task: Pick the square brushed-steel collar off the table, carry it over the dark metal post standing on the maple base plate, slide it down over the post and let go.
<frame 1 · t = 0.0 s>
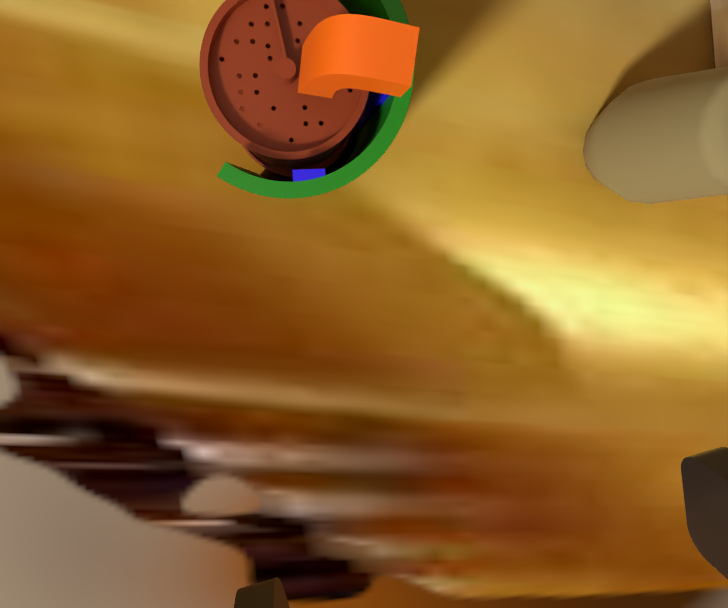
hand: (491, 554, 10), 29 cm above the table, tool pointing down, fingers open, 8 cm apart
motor: (303, 119, 36), on the table
squeeze bottle: (617, 147, 39), on the table
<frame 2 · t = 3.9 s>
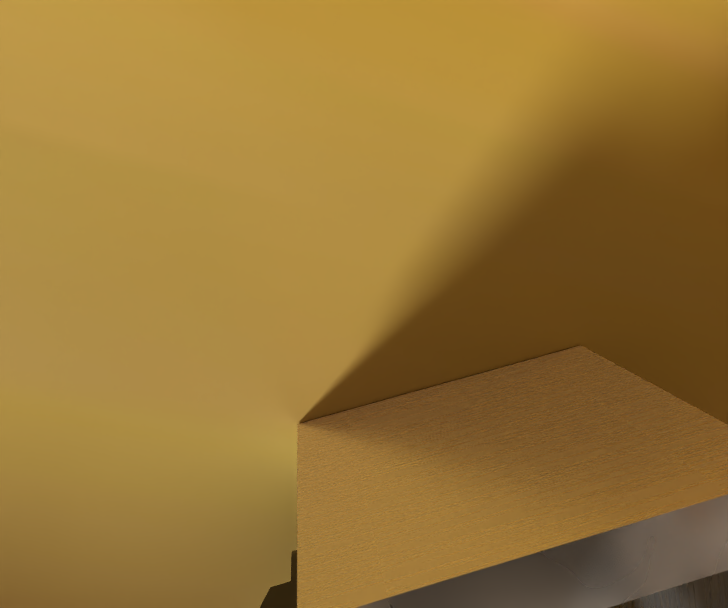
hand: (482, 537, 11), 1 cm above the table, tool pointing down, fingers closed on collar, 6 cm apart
collar: (469, 510, 11), on the table, touching gripper
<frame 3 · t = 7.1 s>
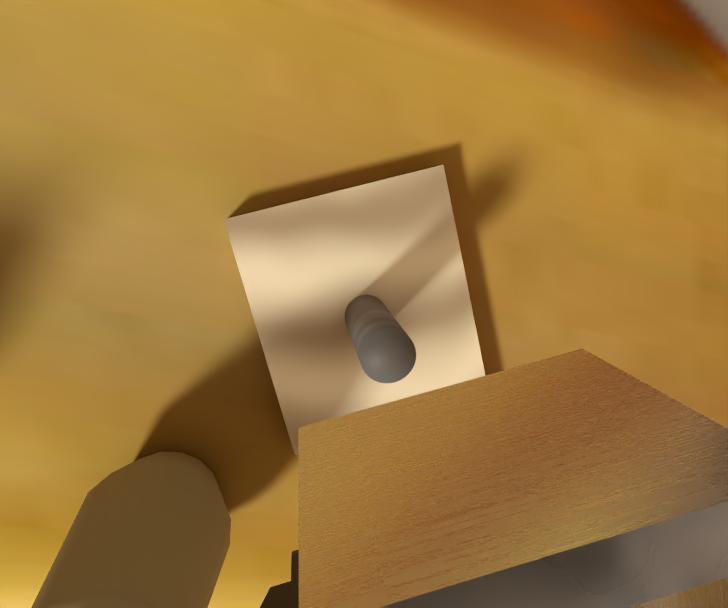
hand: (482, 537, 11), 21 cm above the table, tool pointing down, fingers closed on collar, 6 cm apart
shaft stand: (362, 310, 31), on the table
collar: (470, 514, 11), point 20 cm above the table, touching gripper
squeeze bottle: (171, 492, 32), on the table
when the fingers open (4 cm above the table, at t = 10.4 s): collar drops 2 cm, resting on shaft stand.
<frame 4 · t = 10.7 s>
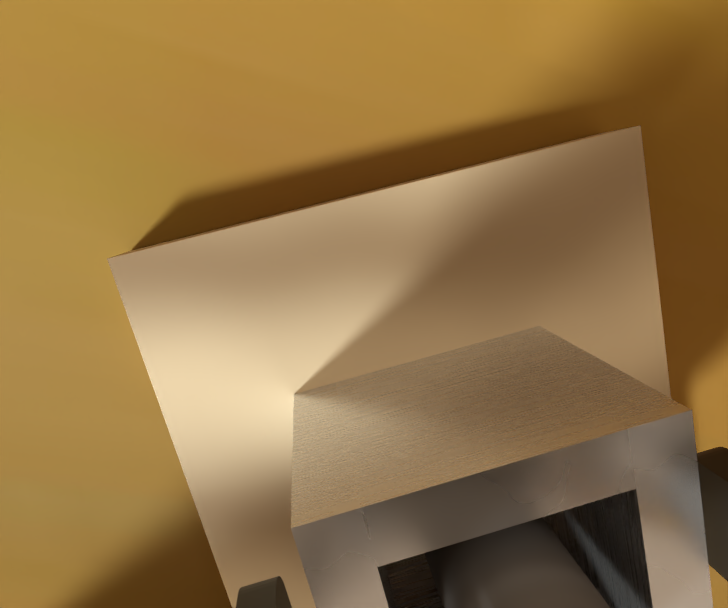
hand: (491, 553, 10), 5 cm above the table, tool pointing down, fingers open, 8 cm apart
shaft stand: (432, 443, 14), on the table
collar: (444, 471, 13), point 1 cm above the table, touching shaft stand
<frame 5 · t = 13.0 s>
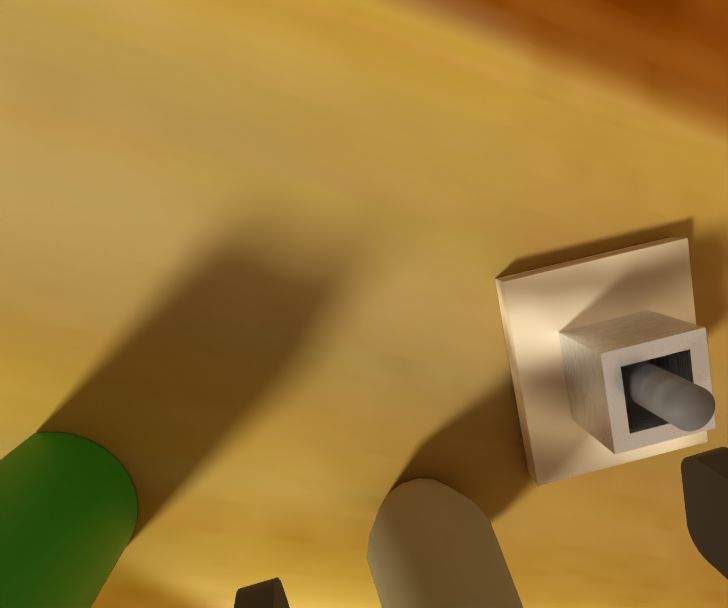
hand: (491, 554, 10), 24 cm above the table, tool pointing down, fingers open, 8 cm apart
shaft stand: (598, 359, 35), on the table
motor: (67, 504, 34), on the table
collar: (609, 365, 34), point 1 cm above the table, touching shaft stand
squeeze bottle: (419, 514, 36), on the table
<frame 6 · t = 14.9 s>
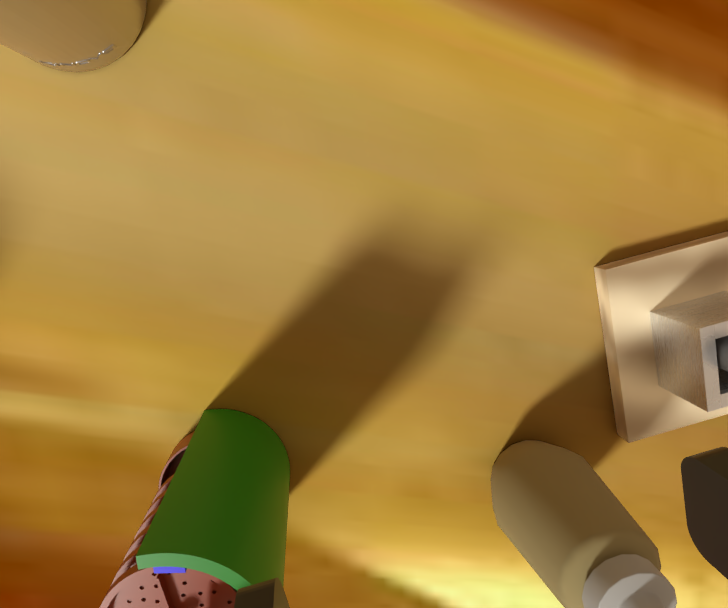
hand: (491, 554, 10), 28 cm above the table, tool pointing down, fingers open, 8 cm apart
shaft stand: (677, 333, 41), on the table
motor: (229, 470, 39), on the table
collar: (690, 338, 40), point 1 cm above the table, touching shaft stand
squeeze bottle: (524, 471, 42), on the table
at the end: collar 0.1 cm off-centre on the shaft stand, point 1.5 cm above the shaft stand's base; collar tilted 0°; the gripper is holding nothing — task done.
